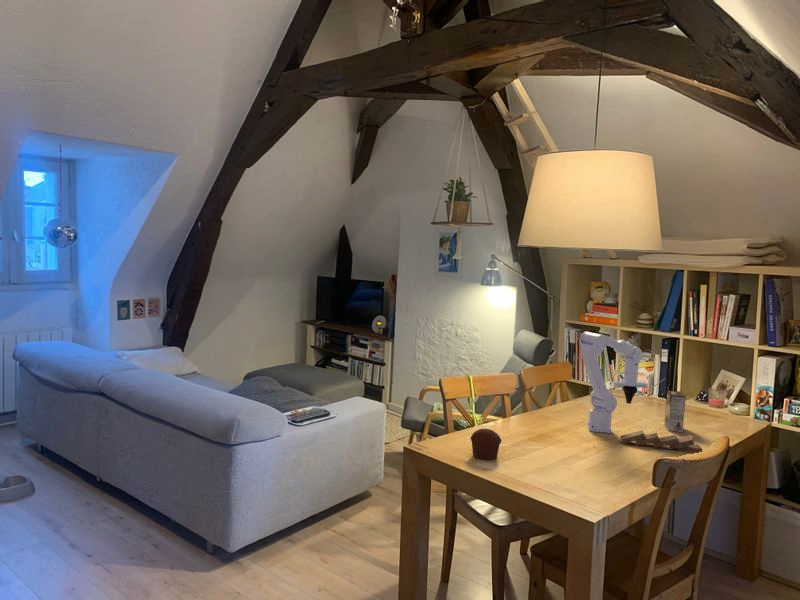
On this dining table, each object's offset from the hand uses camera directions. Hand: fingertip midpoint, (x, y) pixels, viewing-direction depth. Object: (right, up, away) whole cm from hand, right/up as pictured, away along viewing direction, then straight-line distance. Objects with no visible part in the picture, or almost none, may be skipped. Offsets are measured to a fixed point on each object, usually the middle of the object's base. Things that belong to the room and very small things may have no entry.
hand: (628, 403), depth 281 cm
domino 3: (0, -12, -26) cm, 29 cm away
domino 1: (-11, -11, -23) cm, 28 cm away
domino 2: (-6, -12, -24) cm, 27 cm away
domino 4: (+6, -12, -28) cm, 31 cm away
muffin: (-70, -13, -45) cm, 84 cm away
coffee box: (+20, -12, 0) cm, 23 cm away
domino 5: (+9, -13, -27) cm, 32 cm away
